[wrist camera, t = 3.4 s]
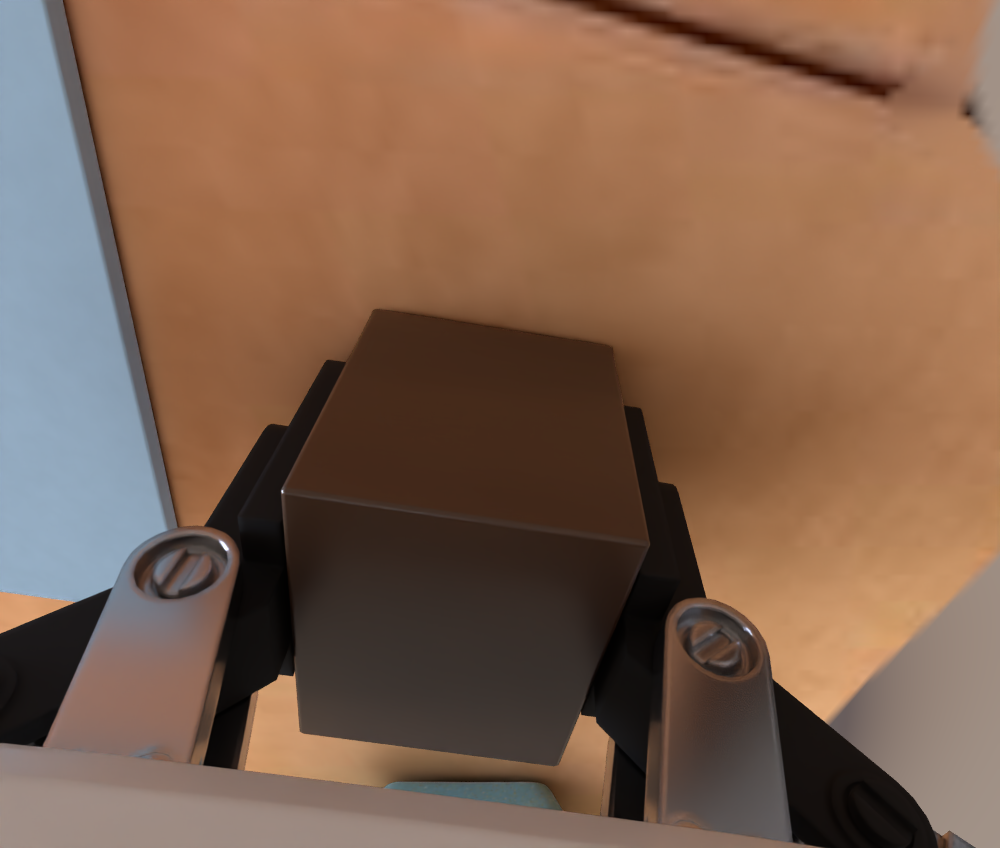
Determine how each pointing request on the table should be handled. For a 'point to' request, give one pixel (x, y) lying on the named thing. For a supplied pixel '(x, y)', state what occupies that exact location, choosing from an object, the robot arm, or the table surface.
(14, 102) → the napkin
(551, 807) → the flower pot
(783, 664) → the table surface
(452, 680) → the walnut block
